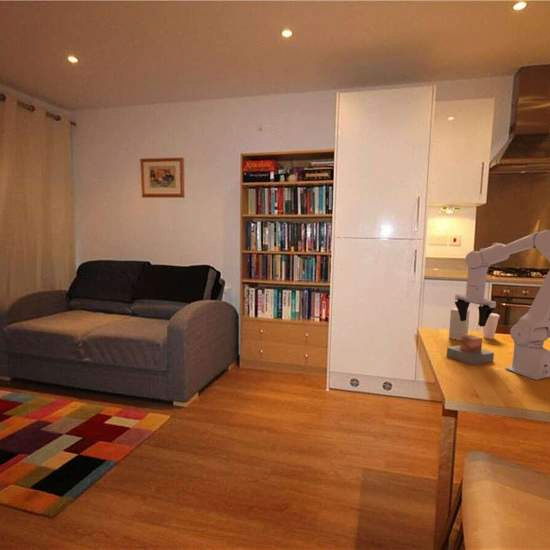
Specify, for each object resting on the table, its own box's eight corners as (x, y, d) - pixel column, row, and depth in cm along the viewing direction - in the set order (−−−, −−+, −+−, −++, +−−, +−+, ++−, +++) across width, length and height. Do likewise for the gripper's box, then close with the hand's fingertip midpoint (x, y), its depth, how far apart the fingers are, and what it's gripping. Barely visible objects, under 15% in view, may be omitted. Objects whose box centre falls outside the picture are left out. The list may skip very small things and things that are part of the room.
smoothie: (492, 335, 155) (496, 302, 153) (500, 340, 149) (504, 305, 147) (476, 334, 156) (479, 302, 154) (483, 339, 149) (487, 305, 148)
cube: (481, 351, 125) (482, 338, 125) (471, 352, 123) (472, 339, 123) (469, 347, 129) (470, 334, 129) (460, 348, 127) (461, 335, 127)
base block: (493, 361, 124) (493, 352, 124) (472, 365, 120) (473, 356, 120) (466, 352, 133) (467, 344, 133) (446, 355, 129) (447, 347, 129)
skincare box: (467, 339, 149) (470, 310, 147) (464, 341, 146) (467, 311, 144) (451, 336, 153) (453, 307, 151) (448, 338, 150) (450, 309, 148)
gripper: (503, 288, 126) (499, 327, 127) (465, 282, 139) (462, 317, 140) (489, 289, 123) (485, 329, 124) (452, 283, 136) (449, 319, 137)
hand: (472, 323), depth 132 cm, fingers open, 7 cm apart
